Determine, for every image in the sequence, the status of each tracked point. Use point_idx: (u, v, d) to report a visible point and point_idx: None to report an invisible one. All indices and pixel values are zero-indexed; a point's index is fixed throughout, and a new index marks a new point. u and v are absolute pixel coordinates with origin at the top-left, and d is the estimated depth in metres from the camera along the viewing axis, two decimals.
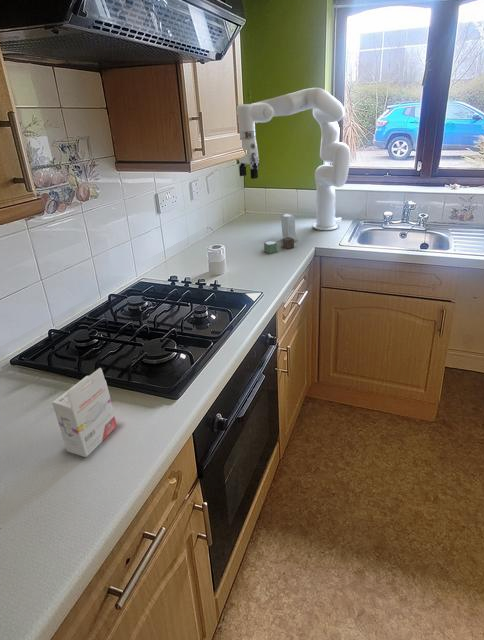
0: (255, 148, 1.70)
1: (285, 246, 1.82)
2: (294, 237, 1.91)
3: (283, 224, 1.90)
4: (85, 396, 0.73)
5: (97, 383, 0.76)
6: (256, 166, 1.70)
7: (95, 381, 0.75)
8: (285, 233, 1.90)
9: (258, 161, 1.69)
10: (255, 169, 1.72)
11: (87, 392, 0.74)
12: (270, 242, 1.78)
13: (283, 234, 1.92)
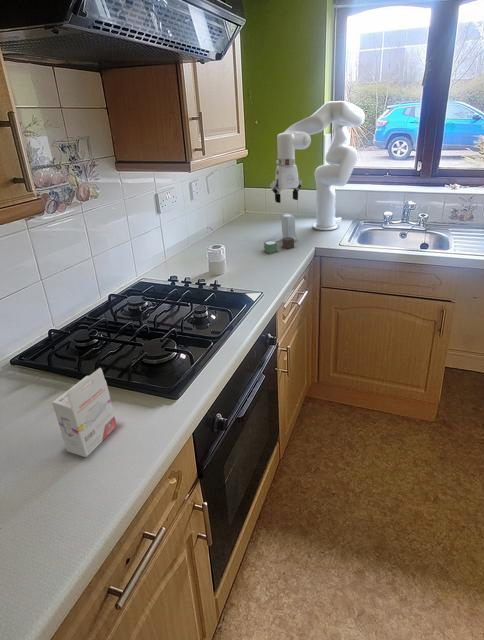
0: (278, 175, 1.78)
1: (285, 246, 1.82)
2: (294, 237, 1.91)
3: (283, 224, 1.90)
4: (85, 396, 0.73)
5: (97, 383, 0.76)
6: (274, 191, 1.80)
7: (95, 381, 0.75)
8: (285, 233, 1.90)
9: (271, 187, 1.79)
10: (276, 194, 1.81)
11: (87, 392, 0.74)
12: (270, 242, 1.78)
13: (283, 234, 1.92)
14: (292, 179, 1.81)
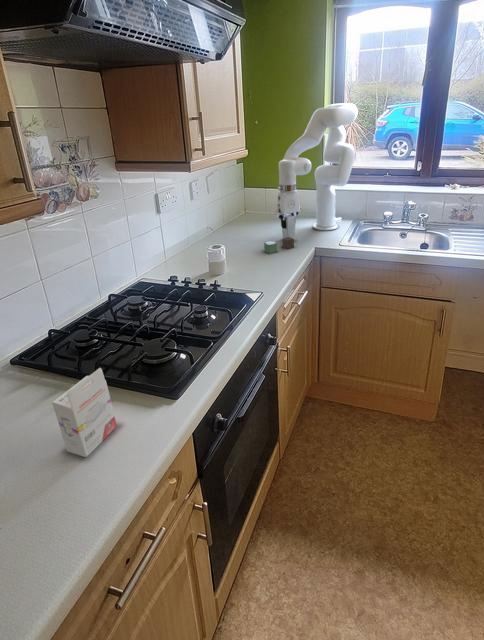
0: (280, 200, 1.82)
1: (285, 246, 1.82)
2: (294, 237, 1.91)
3: None
4: (85, 396, 0.73)
5: (97, 383, 0.76)
6: (280, 217, 1.86)
7: (95, 381, 0.75)
8: (285, 233, 1.90)
9: (276, 215, 1.85)
10: (281, 220, 1.87)
11: (87, 392, 0.74)
12: (270, 242, 1.78)
13: (283, 234, 1.92)
14: (293, 204, 1.85)
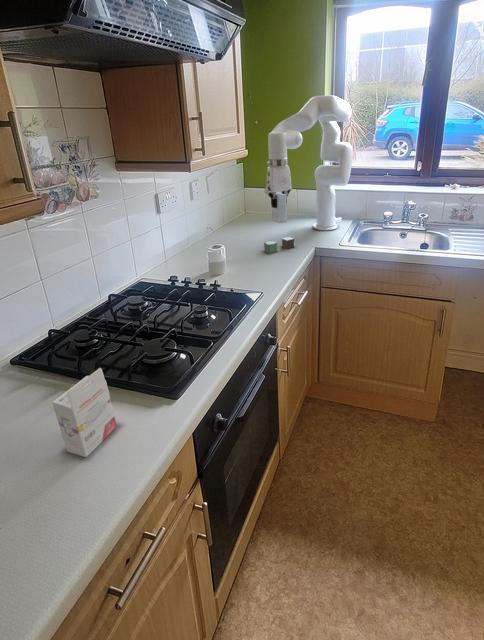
0: (270, 176, 1.67)
1: (285, 246, 1.82)
2: (285, 218, 1.75)
3: None
4: (85, 396, 0.73)
5: (97, 383, 0.76)
6: (269, 196, 1.71)
7: (95, 381, 0.75)
8: (275, 213, 1.75)
9: (266, 193, 1.69)
10: (272, 199, 1.72)
11: (87, 392, 0.74)
12: (270, 242, 1.78)
13: (273, 214, 1.77)
14: (284, 181, 1.70)
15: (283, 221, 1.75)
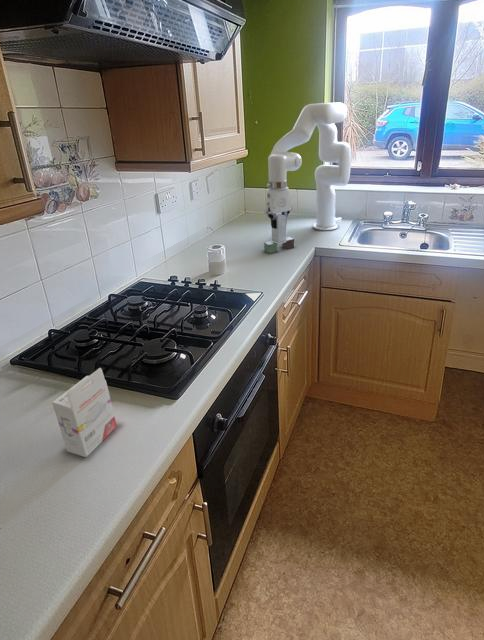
0: (270, 198, 1.69)
1: (285, 246, 1.82)
2: (285, 238, 1.78)
3: None
4: (85, 396, 0.73)
5: (97, 383, 0.76)
6: (269, 217, 1.73)
7: (95, 381, 0.75)
8: (275, 233, 1.77)
9: (266, 214, 1.72)
10: (271, 220, 1.74)
11: (87, 392, 0.74)
12: (270, 242, 1.78)
13: (273, 235, 1.79)
14: (284, 202, 1.72)
15: (283, 241, 1.78)
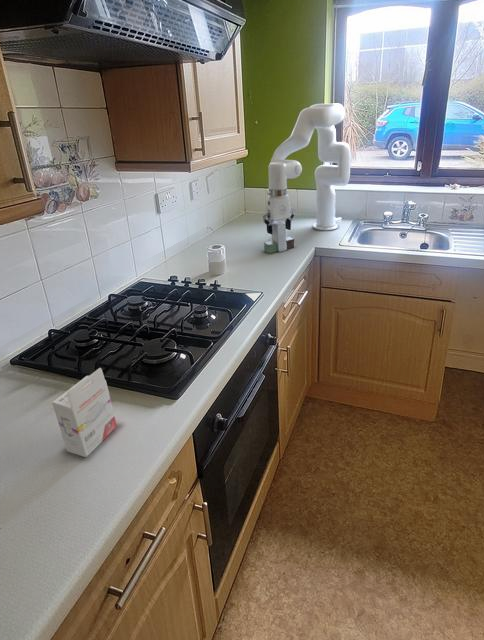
0: (270, 206, 1.70)
1: None
2: (285, 246, 1.79)
3: (273, 232, 1.78)
4: (85, 396, 0.73)
5: (97, 383, 0.76)
6: (265, 222, 1.73)
7: (95, 381, 0.75)
8: (275, 241, 1.78)
9: (262, 218, 1.71)
10: (267, 225, 1.74)
11: (87, 392, 0.74)
12: (270, 242, 1.78)
13: None
14: (284, 210, 1.73)
15: (283, 249, 1.79)
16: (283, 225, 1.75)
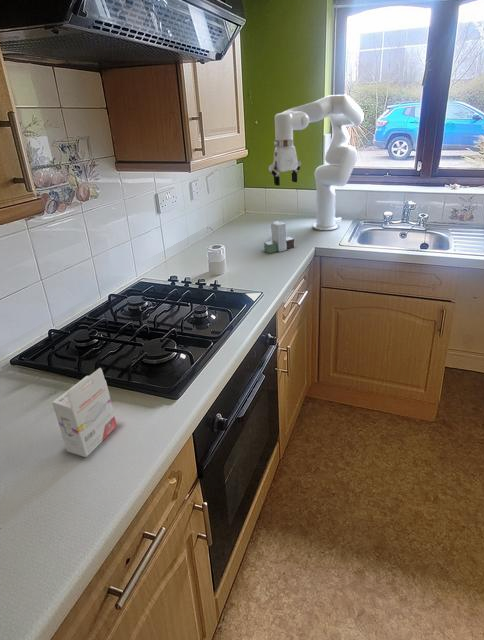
0: (277, 157, 1.74)
1: None
2: (285, 246, 1.79)
3: (273, 232, 1.78)
4: (85, 396, 0.73)
5: (97, 383, 0.76)
6: (272, 174, 1.76)
7: (95, 381, 0.75)
8: (275, 241, 1.78)
9: (270, 169, 1.75)
10: (274, 176, 1.77)
11: (87, 392, 0.74)
12: (270, 242, 1.78)
13: None
14: (291, 161, 1.77)
15: (283, 249, 1.79)
16: (283, 225, 1.75)
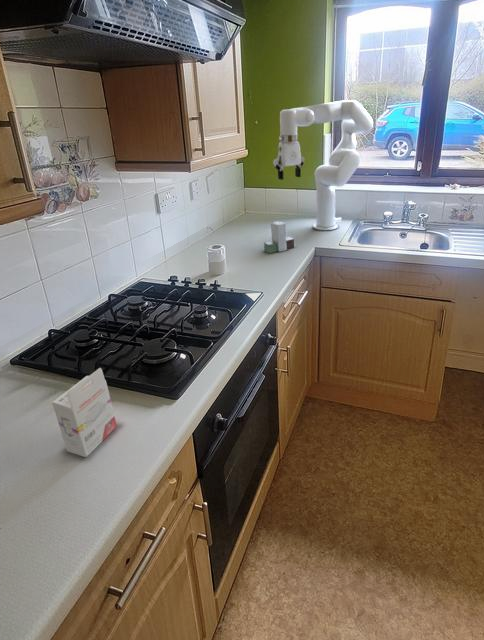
0: (281, 151, 1.80)
1: None
2: (285, 246, 1.79)
3: (273, 232, 1.78)
4: (85, 396, 0.73)
5: (97, 383, 0.76)
6: (276, 168, 1.82)
7: (95, 381, 0.75)
8: (275, 241, 1.78)
9: (274, 163, 1.80)
10: (278, 171, 1.83)
11: (87, 392, 0.74)
12: (270, 242, 1.78)
13: None
14: (295, 156, 1.82)
15: (283, 249, 1.79)
16: (283, 225, 1.75)
